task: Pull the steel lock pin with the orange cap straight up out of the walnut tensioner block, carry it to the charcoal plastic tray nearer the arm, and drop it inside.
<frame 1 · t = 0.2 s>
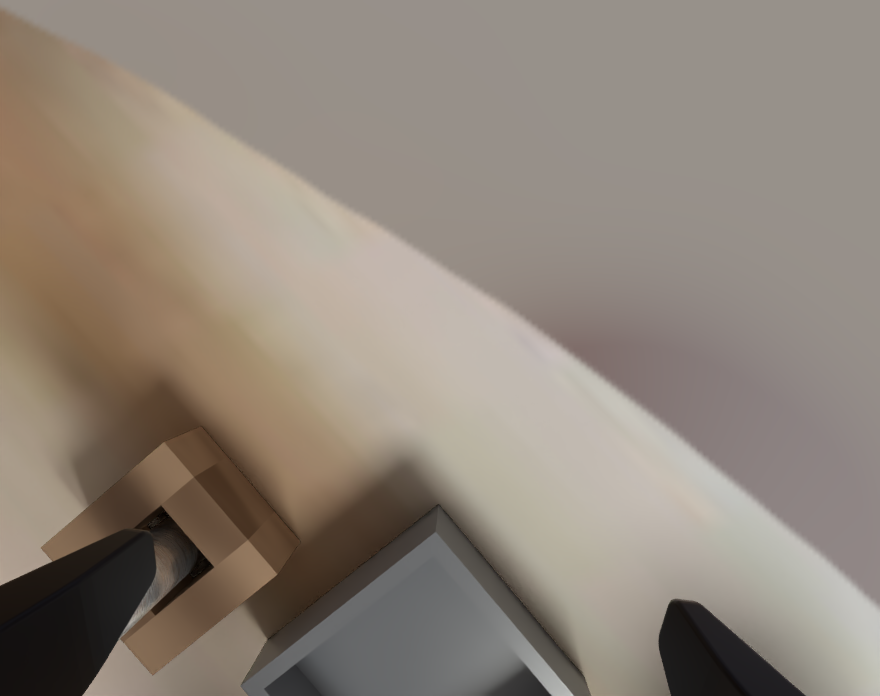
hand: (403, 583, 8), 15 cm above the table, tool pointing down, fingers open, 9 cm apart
tensioner block: (195, 530, 24), on the table
tray: (424, 658, 24), on the table
lock pin: (135, 579, 19), in the tensioner block
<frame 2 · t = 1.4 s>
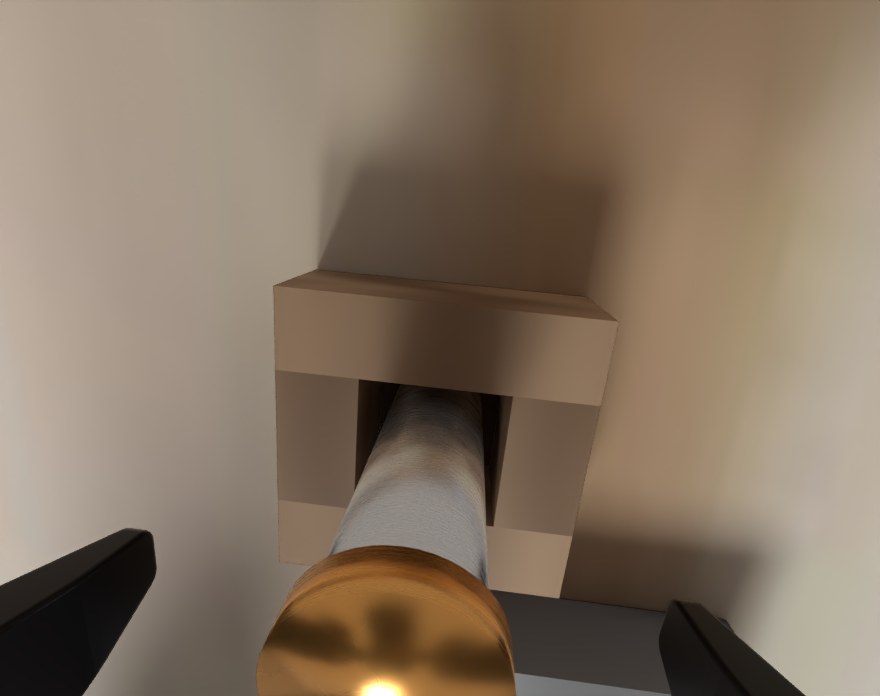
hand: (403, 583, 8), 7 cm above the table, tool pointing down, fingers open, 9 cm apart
tensioner block: (437, 407, 14), on the table
lock pin: (422, 490, 10), in the tensioner block
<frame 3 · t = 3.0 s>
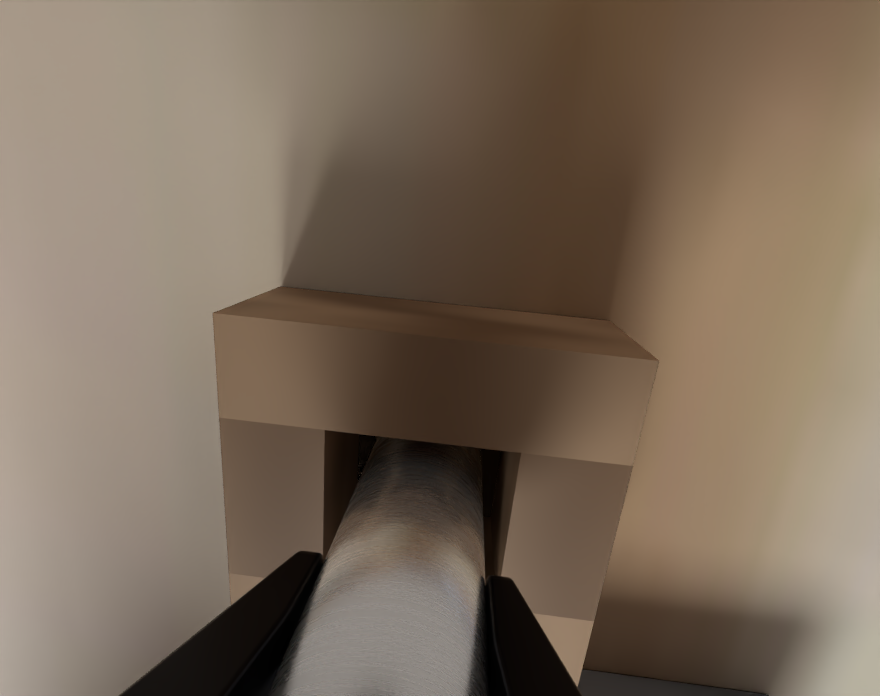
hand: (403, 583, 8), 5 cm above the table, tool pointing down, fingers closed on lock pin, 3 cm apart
tensioner block: (428, 449, 12), on the table
lock pin: (403, 581, 8), in the tensioner block, touching gripper
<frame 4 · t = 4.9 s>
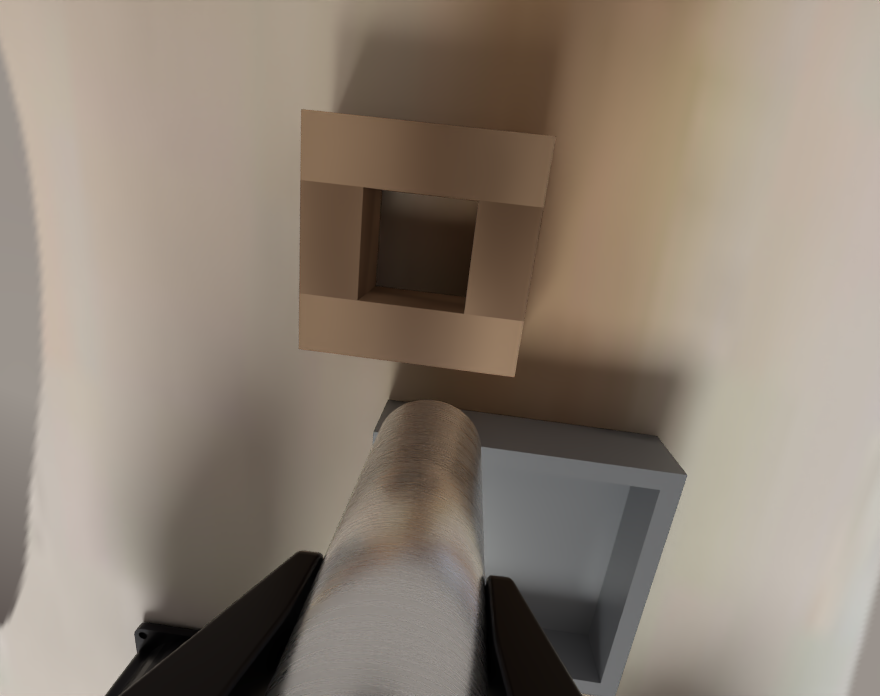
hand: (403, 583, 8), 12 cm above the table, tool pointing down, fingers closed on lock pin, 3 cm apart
tensioner block: (425, 245, 18), on the table
tray: (500, 527, 22), on the table
lock pin: (403, 579, 8), point 12 cm above the table, touching gripper
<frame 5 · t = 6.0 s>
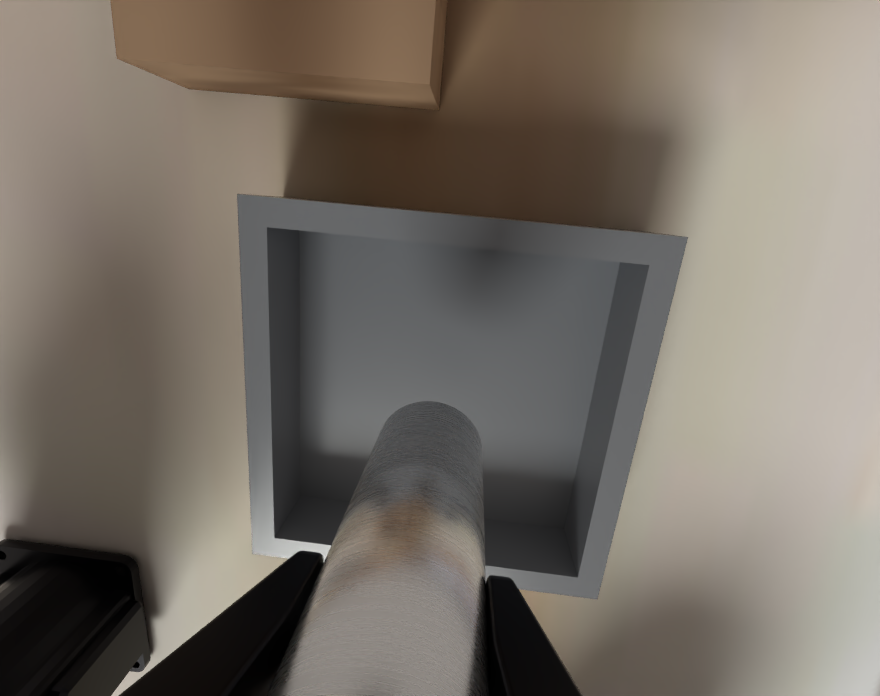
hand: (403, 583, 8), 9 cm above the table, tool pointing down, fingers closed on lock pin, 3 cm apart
tray: (443, 383, 17), on the table
lock pin: (404, 581, 8), point 9 cm above the table, touching gripper
when the fingers open (7 cm above the table, at t = 7.1 s): lock pin drops 1 cm, resting on tray.
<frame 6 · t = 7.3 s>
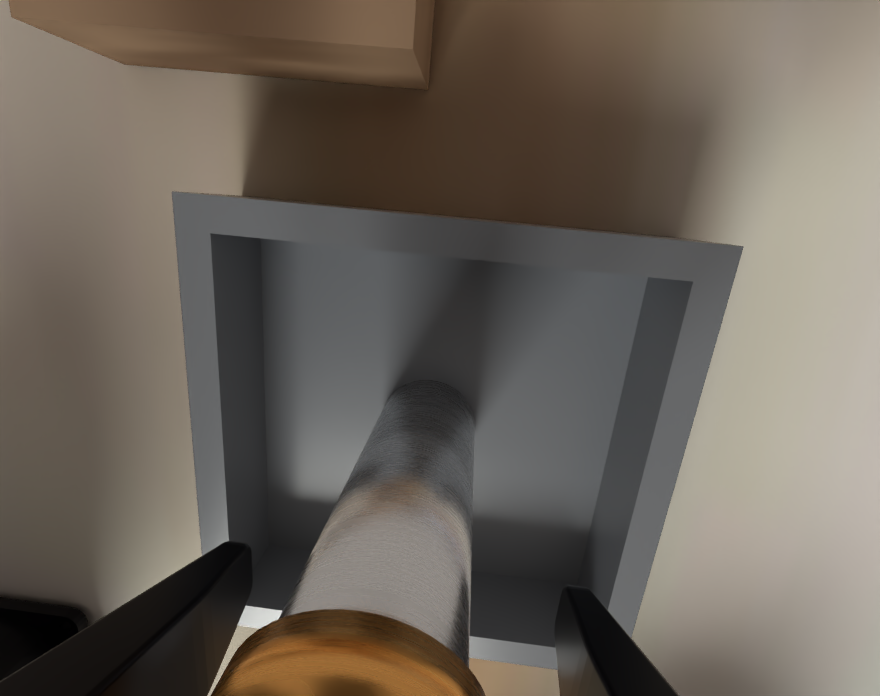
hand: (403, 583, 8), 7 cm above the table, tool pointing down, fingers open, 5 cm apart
tray: (436, 415, 14), on the table
lock pin: (403, 522, 9), in the tray, point 5 cm above the table
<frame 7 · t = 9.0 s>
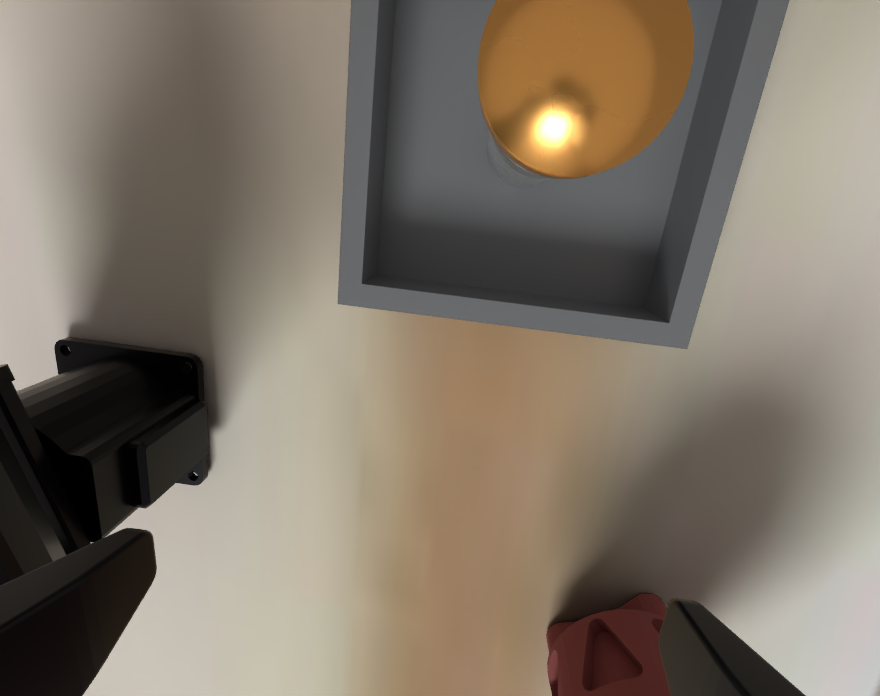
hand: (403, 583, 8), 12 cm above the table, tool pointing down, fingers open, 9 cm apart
tray: (529, 148, 16), on the table
lock pin: (544, 119, 12), in the tray, point 5 cm above the table
mechanical component: (611, 632, 23), on the table
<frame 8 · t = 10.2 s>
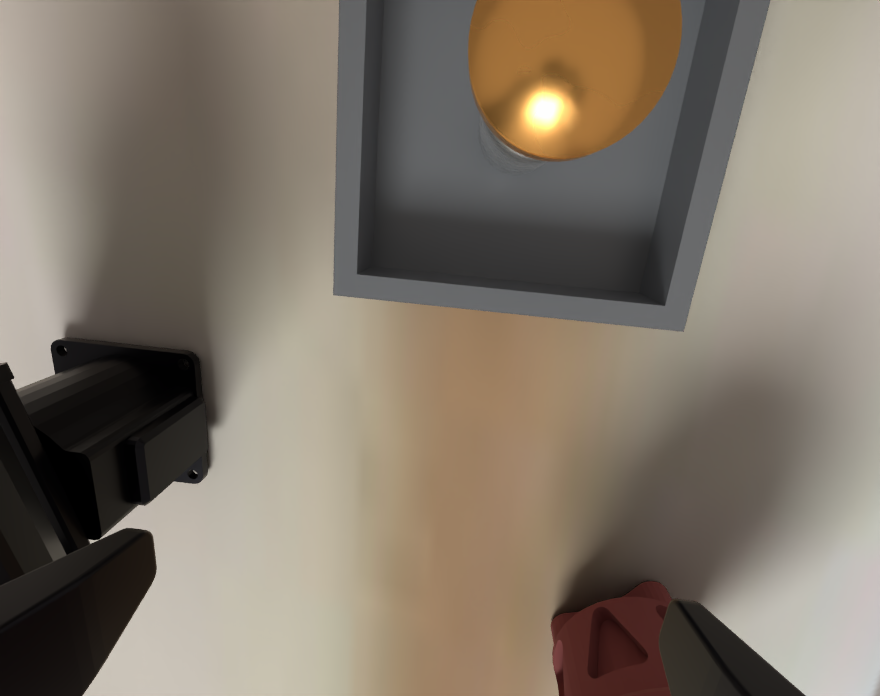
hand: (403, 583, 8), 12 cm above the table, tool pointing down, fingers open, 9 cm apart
tray: (521, 136, 16), on the table
lock pin: (535, 104, 12), in the tray, point 5 cm above the table
mechanical component: (615, 621, 23), on the table
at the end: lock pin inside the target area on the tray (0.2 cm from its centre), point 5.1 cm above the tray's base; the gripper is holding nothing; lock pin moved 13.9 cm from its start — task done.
